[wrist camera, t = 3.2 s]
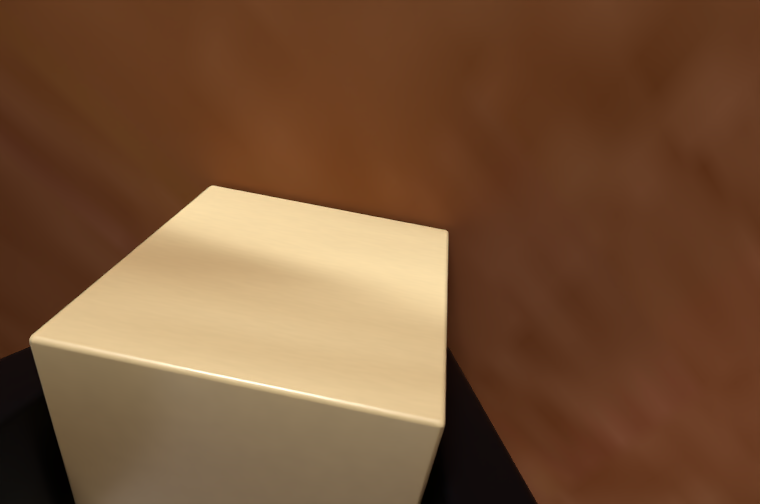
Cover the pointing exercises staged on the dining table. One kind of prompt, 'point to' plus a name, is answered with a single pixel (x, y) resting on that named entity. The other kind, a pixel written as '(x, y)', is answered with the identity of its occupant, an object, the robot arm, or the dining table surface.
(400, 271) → the block
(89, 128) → the dining table surface
